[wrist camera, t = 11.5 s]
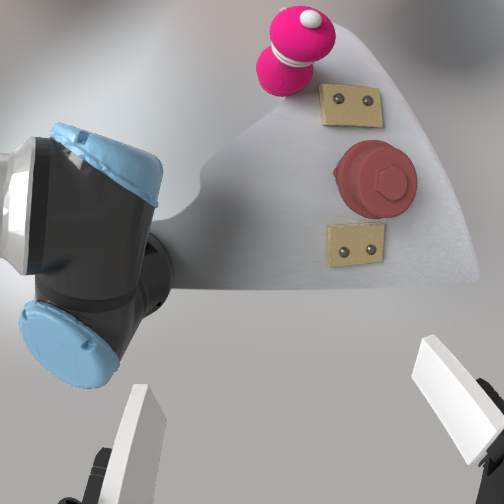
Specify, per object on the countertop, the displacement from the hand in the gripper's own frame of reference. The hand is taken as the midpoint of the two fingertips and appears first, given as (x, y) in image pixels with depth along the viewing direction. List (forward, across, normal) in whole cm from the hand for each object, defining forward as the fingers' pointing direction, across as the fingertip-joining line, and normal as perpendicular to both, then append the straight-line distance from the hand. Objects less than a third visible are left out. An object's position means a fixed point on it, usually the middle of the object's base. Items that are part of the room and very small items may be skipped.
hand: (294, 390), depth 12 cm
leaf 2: (+31, +16, +16) cm, 39 cm away
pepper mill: (+32, +7, +21) cm, 39 cm away
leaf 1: (+31, +16, -5) cm, 35 cm away
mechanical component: (+31, +16, +6) cm, 36 cm away
